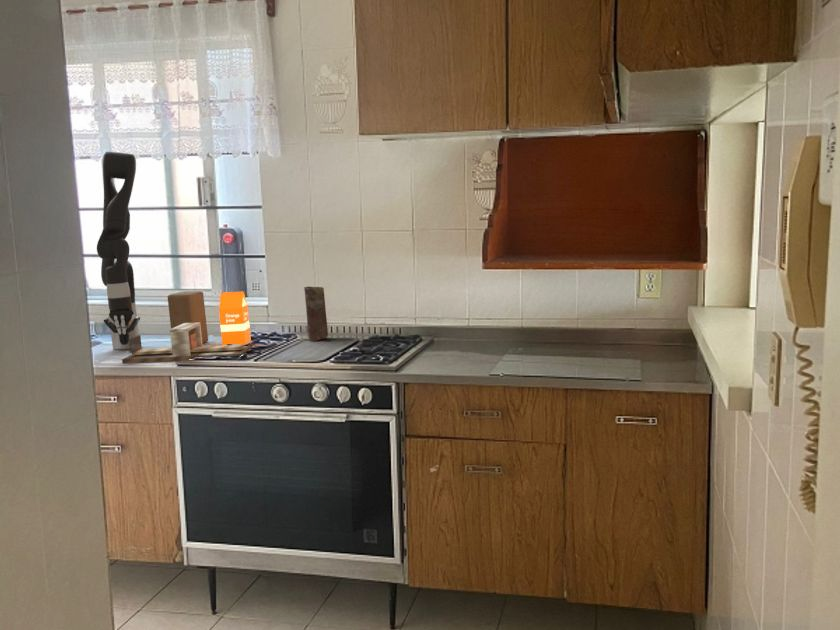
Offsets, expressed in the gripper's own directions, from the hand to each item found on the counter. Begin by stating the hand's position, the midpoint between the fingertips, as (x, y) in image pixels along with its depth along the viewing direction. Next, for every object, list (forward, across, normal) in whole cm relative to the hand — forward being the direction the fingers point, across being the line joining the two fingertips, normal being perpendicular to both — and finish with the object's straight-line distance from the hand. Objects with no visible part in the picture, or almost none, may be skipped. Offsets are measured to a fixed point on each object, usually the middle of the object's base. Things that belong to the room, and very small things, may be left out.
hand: (124, 344), depth 282 cm
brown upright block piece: (+6, +64, +22) cm, 68 cm away
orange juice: (+6, +34, +18) cm, 39 cm away
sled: (+4, +23, 0) cm, 23 cm away
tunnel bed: (+6, +23, 0) cm, 23 cm away
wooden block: (+6, +14, +24) cm, 28 cm away
